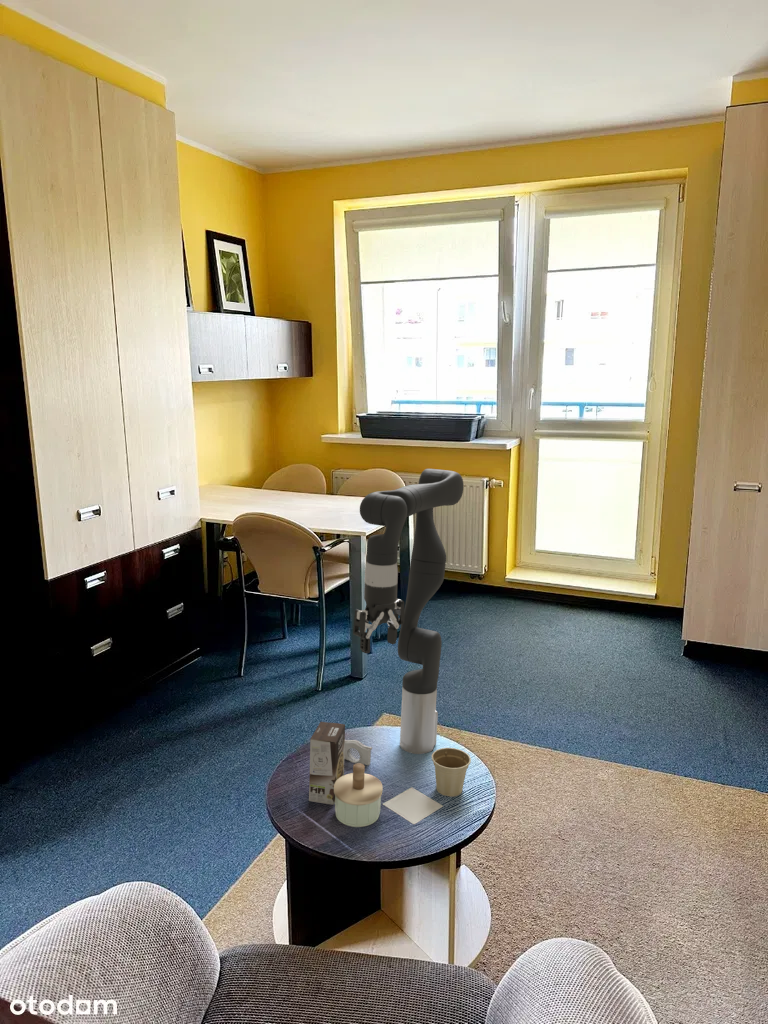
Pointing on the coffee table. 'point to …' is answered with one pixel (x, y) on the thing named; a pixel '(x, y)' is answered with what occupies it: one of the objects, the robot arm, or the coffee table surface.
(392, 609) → the robot arm
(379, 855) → the coffee table surface
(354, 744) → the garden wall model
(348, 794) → the lid
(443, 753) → the flower pot
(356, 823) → the bowl
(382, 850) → the coffee table surface
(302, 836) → the coffee table surface
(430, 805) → the mat
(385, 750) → the coffee table surface
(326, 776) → the coffee box
